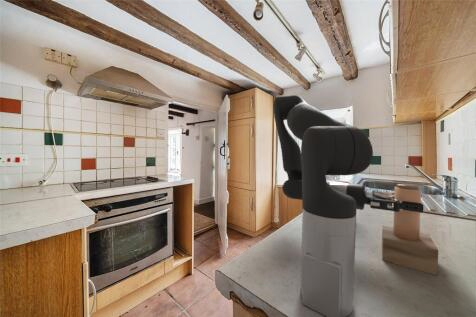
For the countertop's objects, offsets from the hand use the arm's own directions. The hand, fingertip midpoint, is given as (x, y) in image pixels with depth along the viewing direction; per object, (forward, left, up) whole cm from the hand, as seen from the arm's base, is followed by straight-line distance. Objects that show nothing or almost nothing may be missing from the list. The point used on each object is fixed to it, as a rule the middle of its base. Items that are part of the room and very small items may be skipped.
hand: (420, 204), depth 48 cm
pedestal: (0, +2, -15) cm, 15 cm away
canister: (0, +2, -9) cm, 9 cm away
